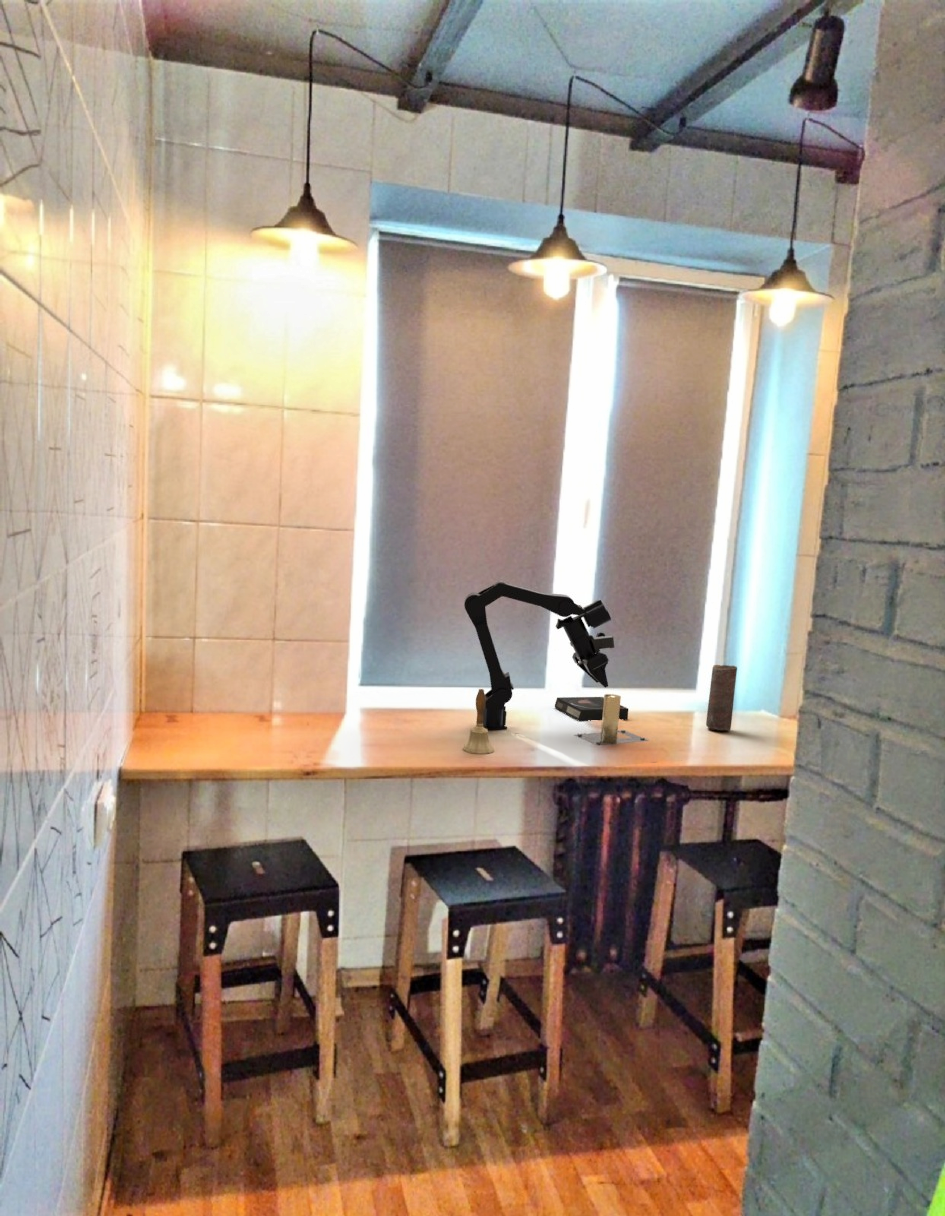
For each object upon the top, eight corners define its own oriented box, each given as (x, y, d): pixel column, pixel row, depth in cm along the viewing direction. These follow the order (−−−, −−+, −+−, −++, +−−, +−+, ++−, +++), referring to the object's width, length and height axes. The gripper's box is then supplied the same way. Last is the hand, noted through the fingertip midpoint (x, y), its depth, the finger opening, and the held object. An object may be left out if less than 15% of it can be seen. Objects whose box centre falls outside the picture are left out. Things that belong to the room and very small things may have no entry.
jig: (597, 750, 248) (598, 743, 247) (572, 740, 257) (573, 733, 257) (648, 745, 257) (649, 738, 257) (623, 735, 266) (623, 729, 266)
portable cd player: (554, 709, 295) (555, 697, 295) (601, 708, 301) (602, 696, 301) (578, 722, 280) (579, 709, 280) (627, 721, 286) (628, 708, 286)
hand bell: (467, 754, 236) (471, 693, 234) (458, 745, 244) (462, 686, 242) (498, 754, 238) (502, 693, 236) (488, 745, 246) (492, 686, 244)
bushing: (607, 743, 250) (611, 698, 249) (597, 739, 254) (601, 694, 252) (620, 742, 252) (624, 697, 251) (609, 738, 256) (613, 693, 255)
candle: (729, 735, 276) (736, 668, 273) (704, 731, 278) (711, 665, 276) (731, 729, 283) (737, 665, 281) (706, 726, 285) (713, 662, 283)
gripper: (612, 625, 253) (636, 676, 255) (595, 620, 272) (618, 667, 274) (576, 644, 253) (601, 694, 254) (562, 637, 271) (585, 684, 273)
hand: (602, 684), depth 264 cm, fingers open, 9 cm apart
